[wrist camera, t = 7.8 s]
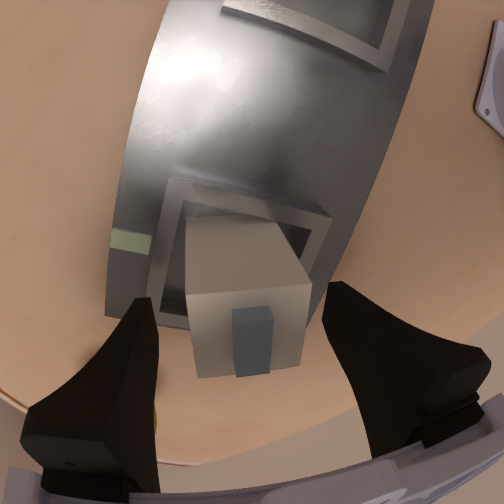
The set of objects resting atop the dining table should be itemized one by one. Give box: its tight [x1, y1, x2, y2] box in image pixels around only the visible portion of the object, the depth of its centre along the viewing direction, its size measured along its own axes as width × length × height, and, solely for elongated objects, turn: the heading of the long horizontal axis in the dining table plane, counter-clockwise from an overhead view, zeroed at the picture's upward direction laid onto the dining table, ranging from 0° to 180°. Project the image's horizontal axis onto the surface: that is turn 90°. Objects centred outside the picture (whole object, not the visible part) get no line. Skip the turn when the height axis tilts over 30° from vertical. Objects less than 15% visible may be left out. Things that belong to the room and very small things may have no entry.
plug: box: [185, 214, 312, 378], centre depth 13 cm, size 4×4×7 cm
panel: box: [105, 0, 434, 331], centre depth 13 cm, size 12×24×2 cm, turn 162°
